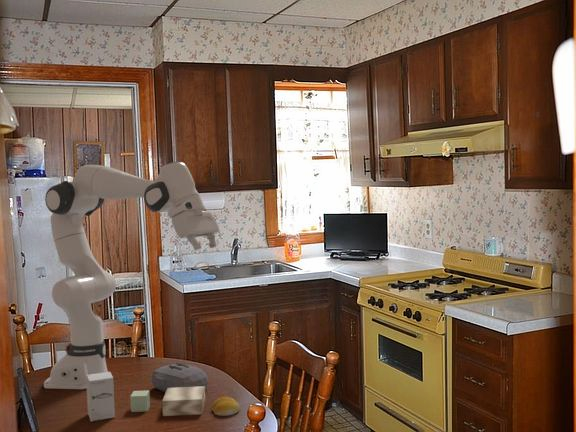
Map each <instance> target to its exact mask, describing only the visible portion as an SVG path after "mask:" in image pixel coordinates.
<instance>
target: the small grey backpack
mask: <svg viewBox="0 0 576 432" xmlns="http://www.w3.org/2000/svg"><path fill="white" fill-rule="evenodd" d="M151 383H152V386H153V388H155V389H156V390H159V391H160V392H162V393H164V394H165V393H166V391H167V388H177V387H198V386H205V391H206V390H207V387H208V383H209V377H208V374H207V373H206V372H205V370H203V369H201V368H200V367H197V366H194V365H190V364H183V363H179V362H176V363H174V364H167V365H163V366H161V367H158V368H156V369H155V370H154V371H153V372H152V374H151Z"/></svg>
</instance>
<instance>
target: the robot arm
mask: <svg viewBox="0 0 576 432" xmlns="http://www.w3.org/2000/svg"><path fill="white" fill-rule="evenodd" d="M159 170H160V171H159V173H158V175H157V177H156V179H155V180H150V179H147V178H142V177H140V176H136V175H133V174H131V173H128V172H125V171H123V170H119V169H117V168H113V167H111V166H106V165H101V164H85V165H82V166H80V167H79V168H78V169H77V170H76V172H75V175H74V179H73V180H72V181H68V180H64V181H62V182H60V183H57V184H54V185H53V186H51V187H49V188H48V189H47V191H46V193H45V197H44V198H45V199H44V200H45V205H46V208H47V210H49V212H51V213H52V214H51V216H50V227H51V233H52V238H53V242H54V246H55V249H56V252H57V255H58V256H57V257H58V259H59V261H60V263H61V264H62V265H63V266H64V267H65V266H66V267H68V269H70V270H71V271H72V272H73V275H71V276H66V277H65V278H63V279H61V280H59V281H57V282H56V283H54V285H53V287H52V290H51V297H52V301H53V302H54V304H55V305H56V306H57V307H59V308H60V309H61V310H63V311H64V313H65V314H66V317H67V319H68V321H69V328H70V338H71V339H70V341H69V342H68V343H67V345H66V346H65V350H64V351H65V353H66V354H65V355H64V356H62V357H61V359H59V360H58V361H57V362H56V363H55V364H54V365H52V367H51V370H50V377H48V378H47V379H45V381H44V382H43V387H44V388H45V389H54V390H55V389H56V390H57V389H58V390H85V389H86V390H87V383H86V375H89V374H97V373H104V372H109V371H108V368H107V367H108V365H107V361H106V352H107V351H106V343H105V340H104V323H103V319H102V318H101V317H100V316H99V315H98V314H95V312H94V311H93V308H92V304H93V303H97V302H101V301H103V300H105V299H107V298H109V297H110V296H112V295H113V294H114V293H115V291H116V285H117V284H116V280H115V278H114V275H112V274H111V273H110V272H108V271H106V270H105V269H104V268H103V267H102V266H101V265H100V264H99V262H98V261H97V259H96V258H95V256H94V254H93V252H92V250H91V247H90V243H89V241H88V238H87V234H86V231H85V227H84V224H83V218H84V217H85V216H86V217H90V216H91V215H92V214H93V213H95V212H96V211H97V210H99V209H101V207H102V206H103V205H104V202H105V200H115V201H116V200H117V201H118V200H127V199H135V198H138V199H139V198H143V201H144V204H145V206H146V209H148V210H149V211H151V212H153V213H166V212H167V215H168V217H169V218H170V219H171V223H172V226H173V228H174V230H175V233H176V235H177V236H178V237H179V238H180V239H187V241H188V242H189V243H190V244H191V246H192V248H193V250H194V251H199V250H201V249H202V246H201V243H200V242H198V241H197V239H196V238H200V237H206V238H207V239H208V246H209V249H215V248H217V246H218V245H217V243H216V234H217V233H219V232H220V228H219V224H218V223H217V220H216V218H215V217H214V214H212V212H210V211H209V210H207V209H206V208H205V205H204V202H203V200H202V197H201V195H200V193H199V192H198V190H197V189H196V183H195V181H194V180H195V179H194V178H193V175H192V173H191V172H190V170H189V168H188V166H187V164H185V163H184V162H181V161H173V162H167V163H165V164H163V165H162V166H161V168H160V169H159Z"/></svg>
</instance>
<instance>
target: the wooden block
mask: <svg viewBox="0 0 576 432" xmlns="http://www.w3.org/2000/svg"><path fill="white" fill-rule="evenodd" d="M161 402H162V416H163V417H167V416H168V417H169V416H170V417H172V416H188V415H189V416H192V415H203V413H204V407H205V404H206V390H205V386H198V387H177V388H167V391H166V393H165V392H164V396H163V398H162V401H161Z"/></svg>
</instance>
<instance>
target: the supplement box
mask: <svg viewBox="0 0 576 432" xmlns="http://www.w3.org/2000/svg"><path fill="white" fill-rule="evenodd" d="M86 383H87V388H86V398H87V399H86V401H87V403H86V404H87V415H88V417H89V421H90V422H94V421H100V420H107V419H114V418H115V417H116V412H115V411H116V410H115V409H116V408H115V407H116V406H115V389H114V388H115V387H114V386H115V385H114V376H113V375H112V372H111V371H108V372H104V373H97V374H89V375H86Z"/></svg>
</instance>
